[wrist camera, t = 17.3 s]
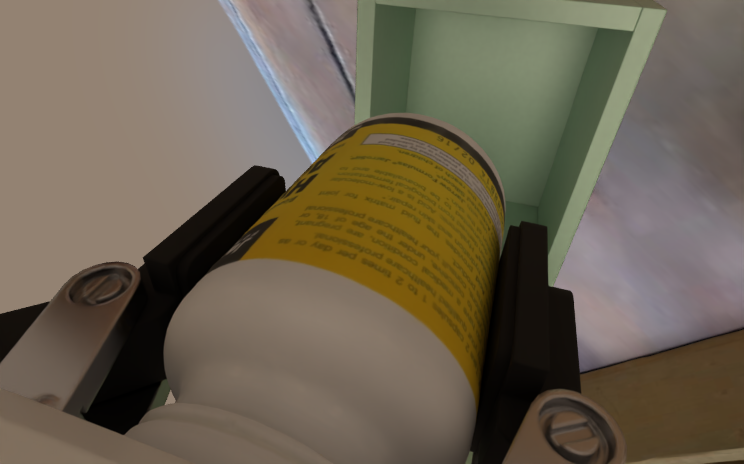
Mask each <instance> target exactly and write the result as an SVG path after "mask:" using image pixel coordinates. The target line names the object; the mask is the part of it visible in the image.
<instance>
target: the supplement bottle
mask: <svg viewBox="0 0 744 464" xmlns="http://www.w3.org/2000/svg"><path fill="white" fill-rule="evenodd" d="M505 211H506V209H505V195H504V189H503V186H502V182H501V179H500V177H499V174H498V172H497V170H496V168H495V166H494V164H493V162H492V161H491V159H490V158H489V157H488V155H487V154H486V153H485V151H484V150H483V149H482V148H481V147H480V146H479V145H478V144H477V143H476V142H475V141H474V140H473V139H472V138H471V137H469V136H468V135H467V134H465V133H464V132H463V131H461V130H459V129H458V128H456V127H455V126H453V125H451V124H449V123H446V122H444V121H441V120H438V119H435V118H433V117H429V116H425V115H420V114H414V113H389V114H383V115H378V116H375V117H371V118H369V119H366V120H364V121H361V122H360V123H358V124H356V125H354V126H353V127H351V128H350V129H348V130H347V131H346V132H345V133H343V134H342V135H341V136H340V137H339V138H338V139H337V140H336V141H334V142H333V143H332V144H331V145H330V146H329V147H328V148H327V149H326V150H325V151H324V152H323V153H322V154H321V155H320V157H319V158H318V159H317V160H316V161H315V162H314V163H313V164H312V165H311V166H310V167H309V168H308V169H307V170H306V171H305V172H304V173H303V174H302V175H301V176H300V177H299V178H298V179H297V180H296V181H295V182H294V184H293V185H292V186H291V187H289V189H288V190H287V191H286V192H285V193H284V194H283V195H282V196H281V197H280V198H279V199H278V200H277V201H276V202H275V203H274V204H273V205H272V206H271V207H270V209H268V210H267V211H266V212H265V213H264V214H263V216H262V217H261V218H260V219H259V220H258V221H257V222H256V223H255V224H254V225H253V226H252V227H251V228H250V229H249V230H248V231H247V232H246V233H245V234H244V235H243V236H242V237H241V238H240V239H239V240H238V241H237V242H236V244H235V245H234V246H233V247H232V248H231V249H230V250H229V251H228V252H227V253H225V255H224V256H223V257H222V258H221V259H220V260H219V261H217V262H216V263H215V264H214V265H213V266H212V267H211V268H210V270H209V271H208V272H207V273H206V275H205V276H204V277H203V278H202V279H201V280H200V281H199V282H198V283H197V284H196V285H195V287H194V288H193V289H192V290H191V291H190V292H189V293H188V294H187V295H186V297H185V298H184V299H183V300H182V302H181V303H180V305H179V306H178V308H177V309H176V311H175V312H174V314H173V316H172V319H171V321H170V323H169V326H168V328H167V332H166V337H165V341H164V352H163V354H164V368H165V373H166V377H167V380H168V384H169V386H170V389H171V391H172V393H173V396H174V398H175V400H176V402H175V403H174V404H168V405H163V406H160V407H157V408H155V409H152V410H150V411H149V412H148V413H146V414H145V415H144V417H143V418H142V419H141V420H140V422H139V425H136V426H134V427H133V428H131V429H130V430H129V431H128V432H127V433H126V434H125V435H124V436H127V437H129V438H132V439H134V440H137V441H139V442H142V443H144V444H147V445H149V446H152V447H154V448H157V449H160V450H162V451H165V452H167V453H170V454H172V455H175V456H177V457H180V458H182V459H185V460H187V461H190V462H193V463H195V464H465V463H466V460H467V458H468V456H469V452H470V447H471V443H472V438H473V434H474V429H475V424H476V418H477V412H478V405H479V399H480V392H481V384H482V377H483V370H484V363H485V356H486V350H487V342H488V335H489V328H490V321H491V314H492V308H493V302H494V296H495V288H496V281H497V274H498V267H499V261H500V255H501V247H502V241H503V232H504V225H505Z"/></svg>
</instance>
